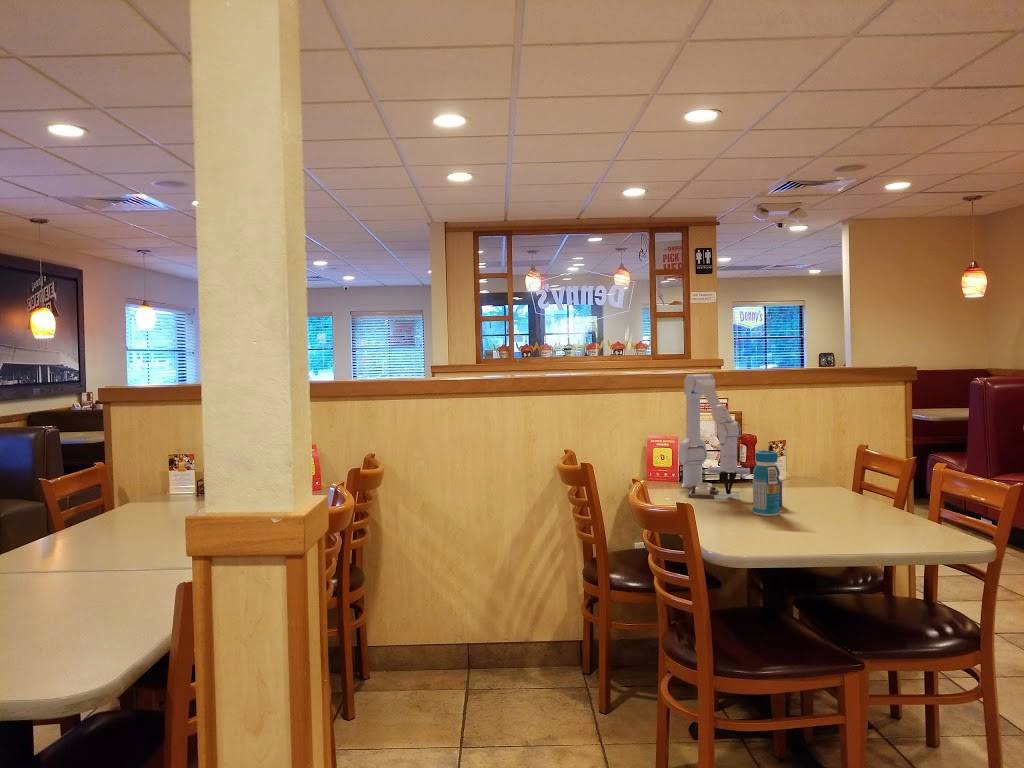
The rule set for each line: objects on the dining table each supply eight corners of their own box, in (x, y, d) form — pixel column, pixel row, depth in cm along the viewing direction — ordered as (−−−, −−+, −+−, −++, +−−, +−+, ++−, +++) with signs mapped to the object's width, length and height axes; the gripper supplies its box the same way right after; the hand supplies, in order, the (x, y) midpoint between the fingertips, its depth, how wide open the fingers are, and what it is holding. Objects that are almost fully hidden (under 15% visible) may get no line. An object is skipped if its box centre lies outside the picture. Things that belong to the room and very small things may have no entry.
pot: (696, 494, 277) (696, 485, 277) (710, 494, 275) (710, 486, 275) (695, 496, 272) (695, 487, 272) (709, 497, 271) (709, 488, 271)
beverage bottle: (750, 515, 243) (750, 452, 242) (754, 510, 250) (755, 449, 249) (777, 517, 239) (778, 454, 238) (781, 512, 246) (782, 451, 245)
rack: (689, 489, 287) (689, 486, 287) (739, 492, 282) (739, 488, 282) (686, 498, 271) (686, 494, 271) (739, 500, 265) (739, 496, 265)
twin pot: (697, 490, 285) (697, 481, 285) (711, 490, 283) (711, 482, 283) (696, 492, 280) (696, 483, 280) (710, 493, 278) (710, 484, 278)
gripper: (707, 456, 269) (706, 494, 270) (749, 458, 265) (749, 496, 265) (708, 454, 276) (708, 491, 276) (749, 455, 271) (749, 493, 272)
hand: (728, 493), depth 271 cm, fingers closed
